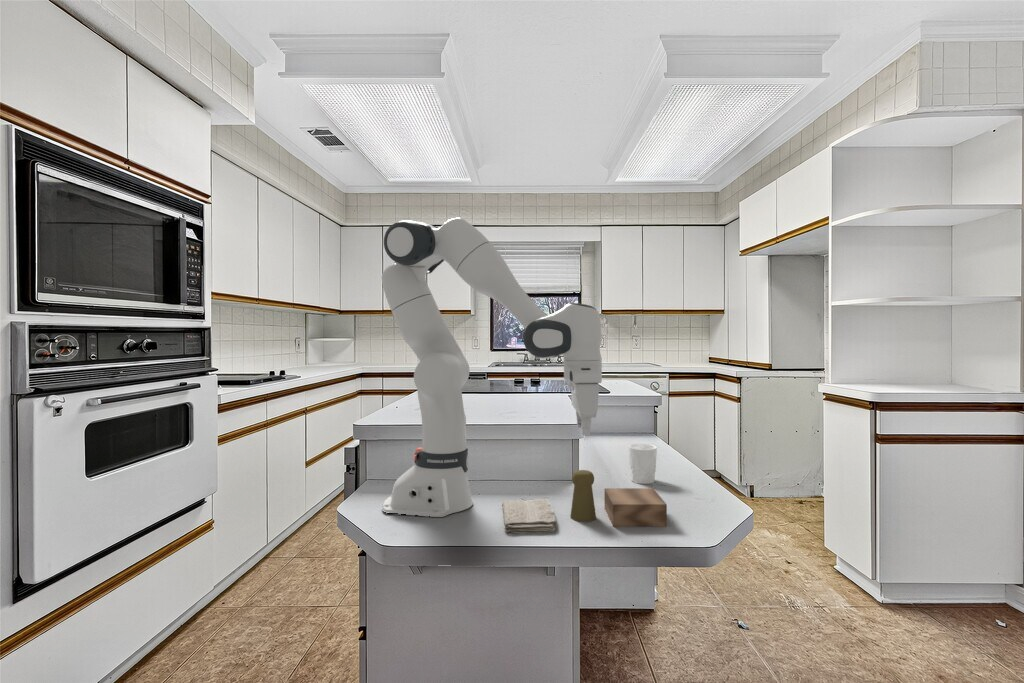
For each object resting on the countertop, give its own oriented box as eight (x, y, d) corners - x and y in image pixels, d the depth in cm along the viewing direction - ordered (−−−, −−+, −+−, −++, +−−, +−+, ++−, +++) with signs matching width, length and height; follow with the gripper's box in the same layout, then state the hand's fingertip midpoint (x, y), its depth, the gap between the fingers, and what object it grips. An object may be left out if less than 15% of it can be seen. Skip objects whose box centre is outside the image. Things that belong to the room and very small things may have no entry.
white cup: (656, 485, 151) (656, 450, 150) (628, 483, 153) (628, 448, 152) (656, 478, 158) (657, 444, 158) (629, 476, 160) (629, 443, 160)
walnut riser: (613, 526, 120) (613, 504, 119) (604, 508, 132) (604, 488, 131) (666, 526, 119) (666, 504, 119) (653, 508, 131) (653, 488, 131)
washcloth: (504, 536, 115) (504, 522, 115) (500, 508, 133) (500, 496, 133) (558, 534, 116) (558, 520, 116) (547, 507, 134) (547, 495, 134)
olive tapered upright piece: (595, 522, 122) (595, 475, 122) (569, 520, 123) (569, 473, 123) (596, 513, 128) (596, 468, 128) (571, 512, 129) (571, 467, 129)
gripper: (565, 369, 135) (566, 423, 136) (573, 376, 115) (574, 439, 115) (590, 368, 135) (590, 422, 136) (602, 375, 115) (603, 439, 115)
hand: (583, 430), depth 125 cm, fingers open, 8 cm apart
